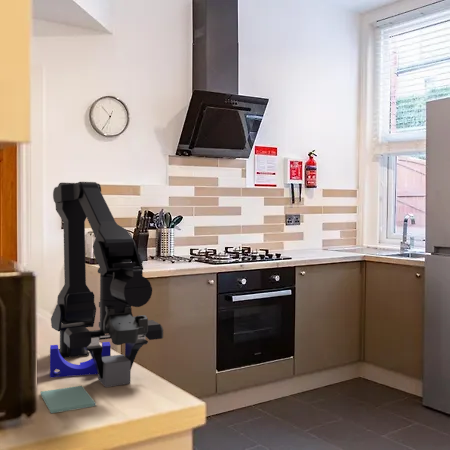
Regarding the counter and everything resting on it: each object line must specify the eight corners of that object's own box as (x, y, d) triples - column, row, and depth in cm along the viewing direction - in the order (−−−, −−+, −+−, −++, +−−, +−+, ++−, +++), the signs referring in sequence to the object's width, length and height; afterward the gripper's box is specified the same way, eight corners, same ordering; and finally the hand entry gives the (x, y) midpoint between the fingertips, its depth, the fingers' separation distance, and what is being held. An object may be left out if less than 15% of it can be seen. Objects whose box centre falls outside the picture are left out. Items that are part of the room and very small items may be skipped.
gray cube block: (98, 379, 111) (98, 357, 110) (122, 376, 113) (122, 354, 113) (105, 387, 106) (105, 364, 106) (130, 383, 109) (130, 360, 108)
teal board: (40, 394, 102) (40, 391, 102) (81, 388, 106) (81, 385, 106) (51, 413, 93) (51, 410, 93) (95, 405, 97) (95, 403, 97)
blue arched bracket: (108, 367, 119) (108, 340, 119) (110, 374, 115) (110, 345, 115) (50, 371, 116) (50, 343, 116) (50, 378, 112) (50, 349, 111)
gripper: (76, 309, 97) (76, 396, 98) (174, 302, 106) (173, 381, 107) (63, 299, 107) (63, 378, 108) (153, 292, 116) (152, 365, 117)
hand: (114, 376), depth 110 cm, fingers closed on gray cube block, 5 cm apart
